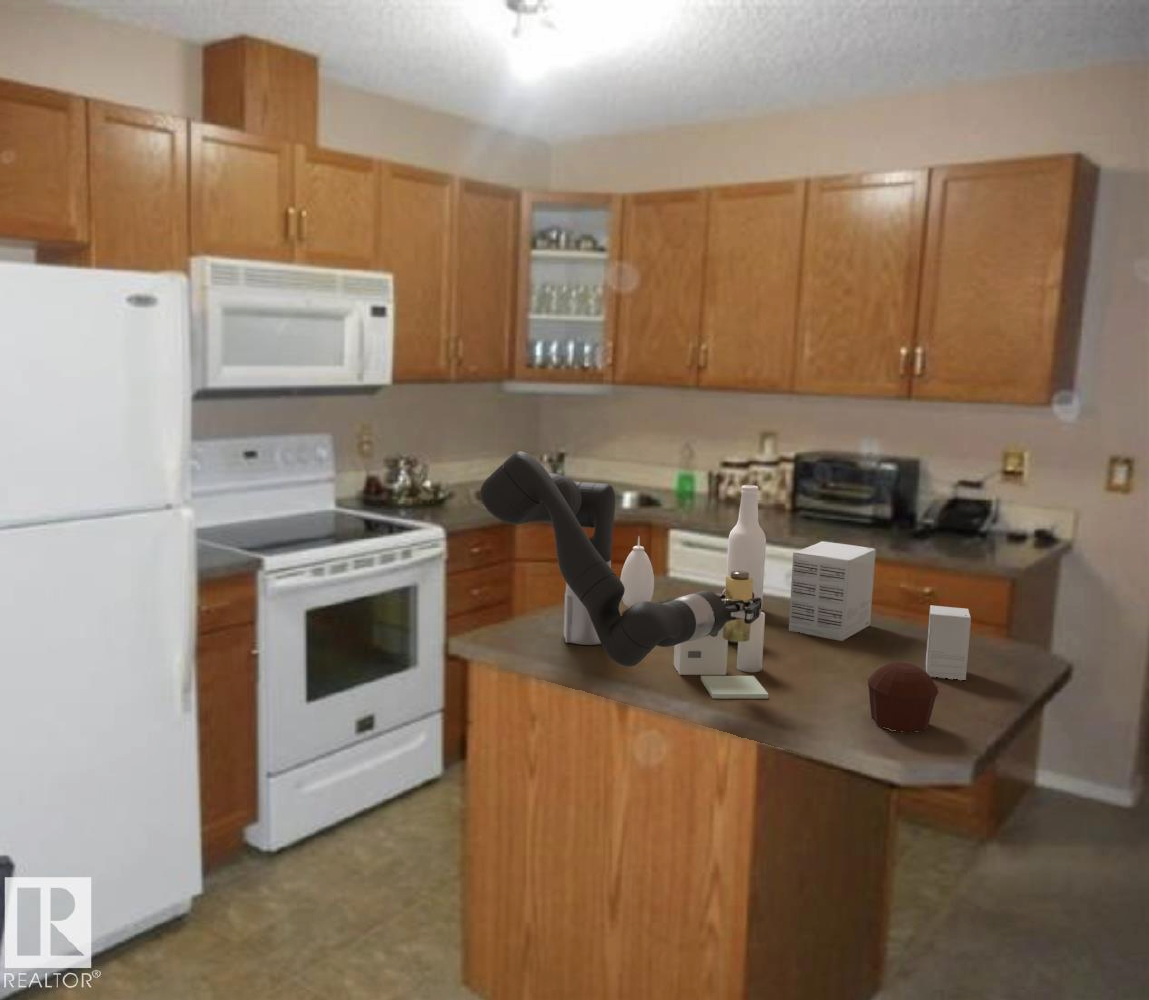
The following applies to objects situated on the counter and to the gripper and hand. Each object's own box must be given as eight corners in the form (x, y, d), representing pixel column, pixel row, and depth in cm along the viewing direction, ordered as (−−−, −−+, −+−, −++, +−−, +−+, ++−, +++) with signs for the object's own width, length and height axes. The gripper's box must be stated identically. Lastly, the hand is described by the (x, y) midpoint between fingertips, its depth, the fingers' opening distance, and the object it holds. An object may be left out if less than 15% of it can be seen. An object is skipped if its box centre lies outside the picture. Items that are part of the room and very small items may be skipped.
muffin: (865, 707, 171) (869, 652, 170) (932, 715, 168) (937, 659, 167) (864, 731, 160) (869, 672, 159) (937, 741, 157) (942, 680, 156)
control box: (678, 676, 185) (681, 610, 183) (671, 664, 192) (674, 600, 191) (728, 676, 186) (732, 610, 184) (720, 664, 193) (723, 600, 191)
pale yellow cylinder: (726, 641, 175) (729, 575, 173) (720, 634, 179) (723, 569, 178) (752, 642, 175) (756, 575, 173) (745, 634, 180) (749, 570, 178)
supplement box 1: (816, 615, 233) (821, 540, 230) (871, 625, 225) (877, 548, 223) (786, 630, 219) (791, 551, 216) (843, 642, 211) (849, 559, 209)
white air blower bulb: (634, 604, 238) (637, 531, 235) (659, 611, 232) (662, 536, 230) (612, 610, 232) (615, 534, 230) (637, 616, 227) (640, 540, 224)
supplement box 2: (964, 670, 194) (969, 608, 192) (966, 682, 187) (971, 617, 185) (924, 665, 196) (929, 604, 194) (924, 677, 189) (930, 613, 188)
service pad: (712, 698, 174) (712, 694, 174) (700, 679, 184) (701, 675, 183) (768, 698, 175) (768, 694, 174) (753, 680, 184) (753, 675, 184)
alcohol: (753, 617, 230) (760, 489, 225) (718, 611, 234) (724, 486, 230) (767, 609, 237) (774, 486, 233) (733, 603, 242) (740, 482, 237)
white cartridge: (740, 672, 189) (743, 611, 187) (734, 664, 194) (737, 605, 192) (764, 672, 189) (768, 611, 187) (758, 664, 194) (761, 605, 192)
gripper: (658, 629, 171) (711, 613, 183) (729, 647, 161) (780, 628, 174) (660, 587, 170) (713, 573, 182) (731, 602, 160) (782, 586, 173)
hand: (745, 600), depth 178 cm, fingers closed on pale yellow cylinder, 4 cm apart
